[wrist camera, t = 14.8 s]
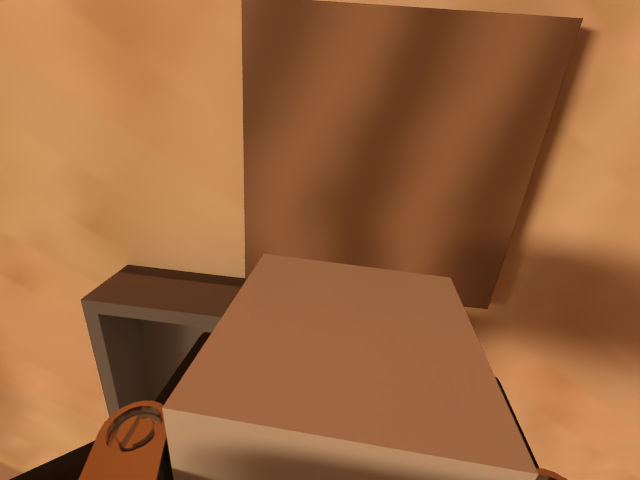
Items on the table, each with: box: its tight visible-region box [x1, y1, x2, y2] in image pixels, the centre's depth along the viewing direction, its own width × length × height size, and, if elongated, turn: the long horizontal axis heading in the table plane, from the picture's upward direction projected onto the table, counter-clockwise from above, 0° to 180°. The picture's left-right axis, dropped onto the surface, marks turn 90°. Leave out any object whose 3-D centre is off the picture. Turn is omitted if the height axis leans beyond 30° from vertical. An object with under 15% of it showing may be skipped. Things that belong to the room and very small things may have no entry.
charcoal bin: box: [81, 265, 246, 417], centre depth 23 cm, size 18×18×4 cm
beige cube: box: [162, 254, 538, 480], centre depth 9 cm, size 6×6×6 cm
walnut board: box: [242, 0, 583, 309], centre depth 17 cm, size 14×14×1 cm
